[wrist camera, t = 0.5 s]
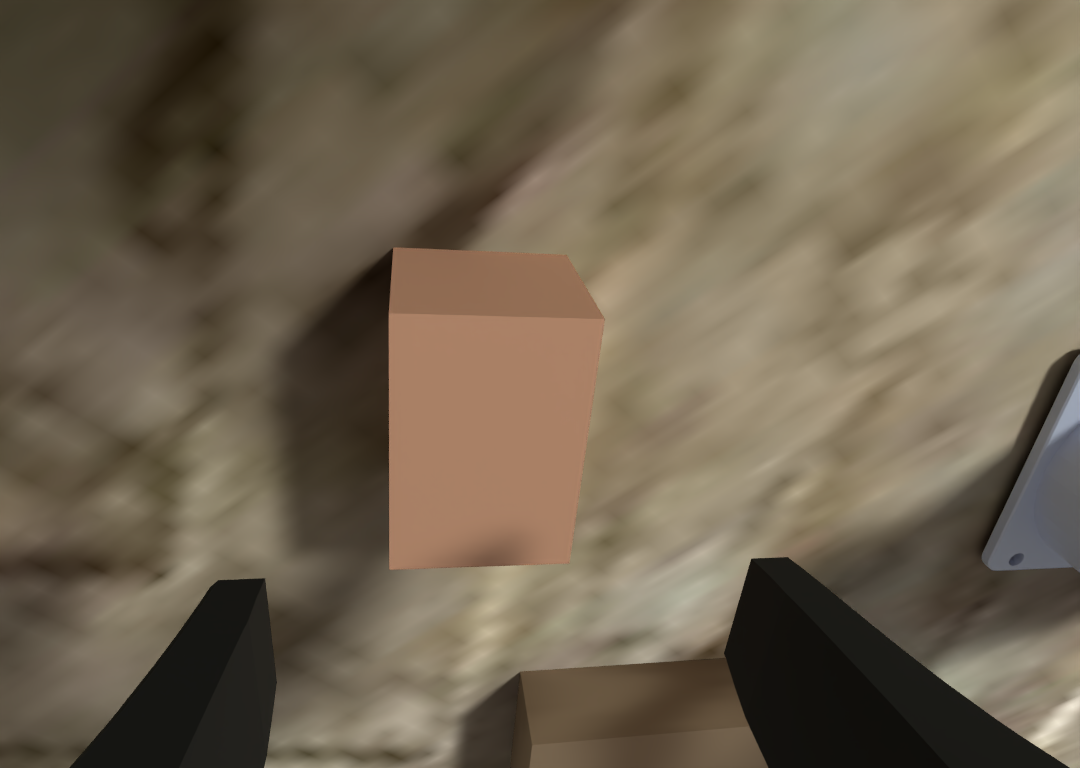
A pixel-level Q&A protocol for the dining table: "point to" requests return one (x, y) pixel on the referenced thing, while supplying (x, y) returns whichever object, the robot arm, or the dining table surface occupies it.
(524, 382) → the terracotta block
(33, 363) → the dining table surface
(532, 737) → the walnut block
